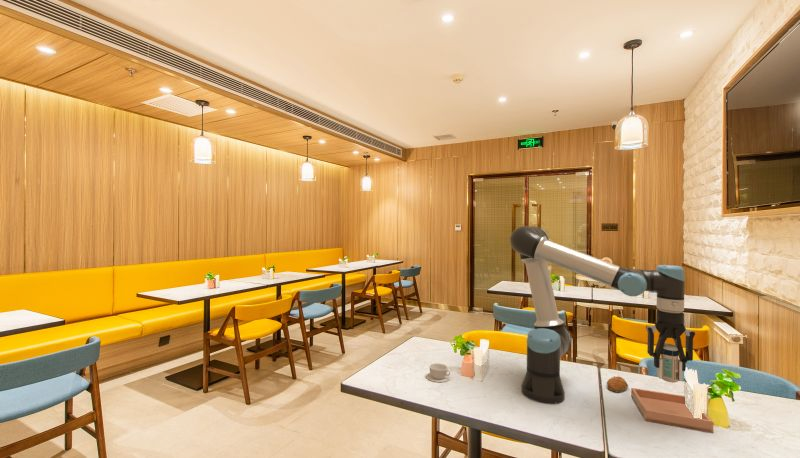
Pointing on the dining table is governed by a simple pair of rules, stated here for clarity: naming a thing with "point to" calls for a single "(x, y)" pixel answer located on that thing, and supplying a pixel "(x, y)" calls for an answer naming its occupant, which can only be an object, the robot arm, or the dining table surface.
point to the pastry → (617, 384)
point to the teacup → (438, 373)
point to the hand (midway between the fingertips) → (669, 378)
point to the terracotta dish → (668, 410)
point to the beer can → (670, 363)
